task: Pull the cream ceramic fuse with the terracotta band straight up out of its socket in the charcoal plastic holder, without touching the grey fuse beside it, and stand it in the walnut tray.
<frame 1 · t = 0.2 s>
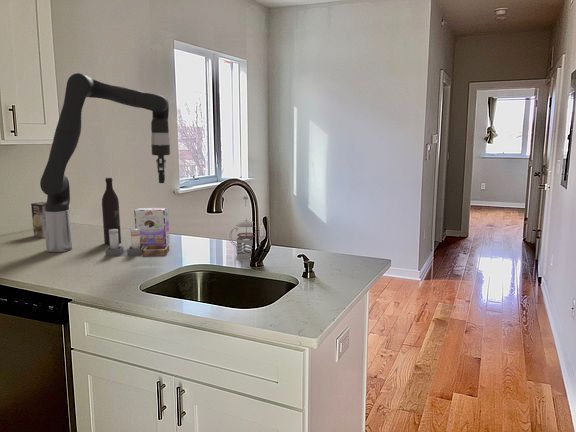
hand: (161, 182, 212), 29 cm above the worktop, tool pointing down, fingers open, 8 cm apart
fuse holder: (125, 255, 203), on the worktop
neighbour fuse: (114, 253, 202), point 1 cm above the worktop, touching fuse holder
french press: (244, 258, 198), on the worktop
coffee box: (44, 236, 242), on the worktop
wine bottle: (113, 245, 222), on the worktop
marked fuse: (136, 253, 203), point 1 cm above the worktop, touching fuse holder
candy box: (153, 245, 222), on the worktop
walnut tray: (156, 254, 204), on the worktop
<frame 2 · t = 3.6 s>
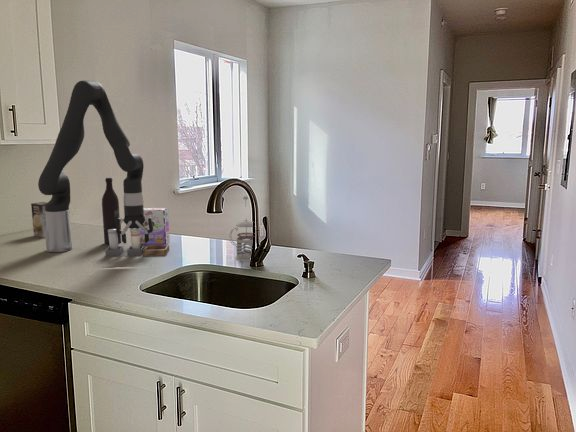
hand: (135, 242, 202), 5 cm above the worktop, tool pointing down, fingers open, 8 cm apart
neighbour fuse: (114, 253, 202), point 1 cm above the worktop, touching fuse holder, gripper
everything else where it was.
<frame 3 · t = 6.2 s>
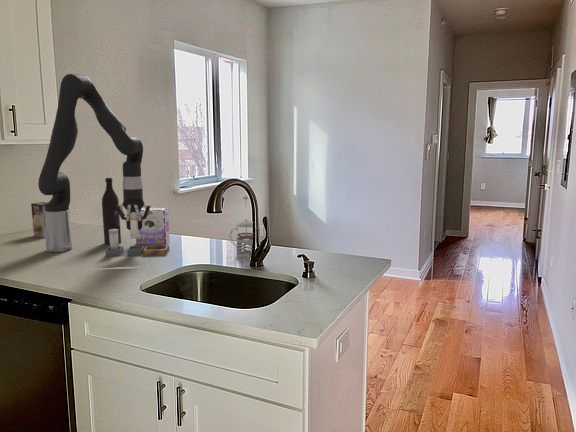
hand: (134, 229, 201), 11 cm above the worktop, tool pointing down, fingers closed on marked fuse, 3 cm apart
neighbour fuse: (114, 253, 202), point 1 cm above the worktop, touching fuse holder
marked fuse: (135, 237, 202), point 7 cm above the worktop, touching gripper
everything else where it was.
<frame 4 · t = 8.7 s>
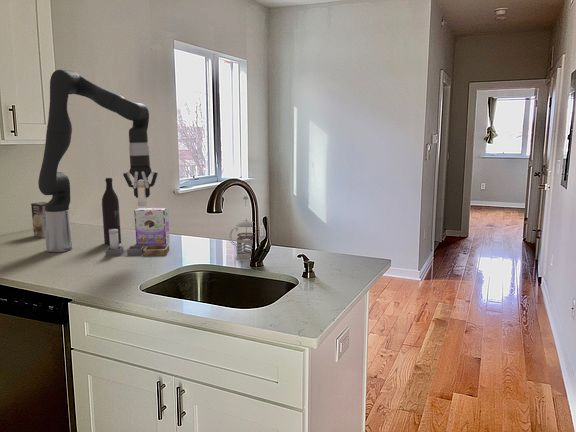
hand: (142, 197, 199), 24 cm above the worktop, tool pointing down, fingers closed on marked fuse, 3 cm apart
marked fuse: (142, 205, 200), point 21 cm above the worktop, touching gripper
everything else where it was.
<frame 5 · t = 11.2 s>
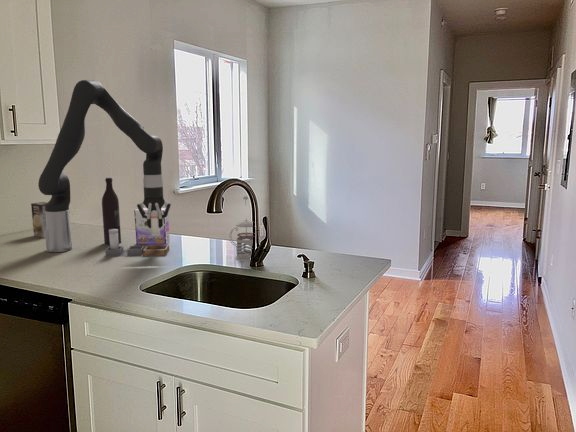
hand: (155, 227, 202), 11 cm above the worktop, tool pointing down, fingers closed on marked fuse, 3 cm apart
marked fuse: (155, 235, 203), point 8 cm above the worktop, touching gripper
everything else where it was.
when the fingers open (5 cm above the worktop, at t = 13.1 s): marked fuse drops 1 cm, resting on walnut tray.
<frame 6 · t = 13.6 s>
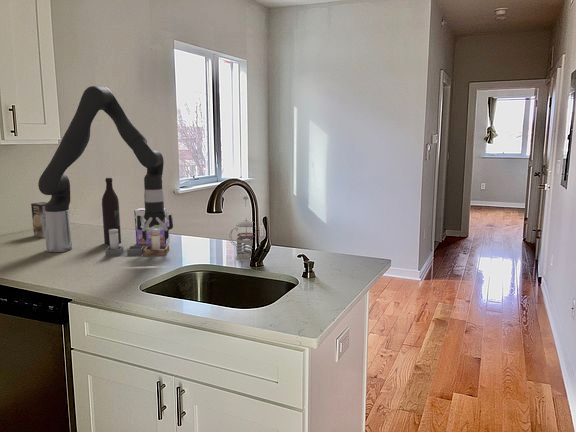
hand: (155, 239, 203), 6 cm above the worktop, tool pointing down, fingers open, 8 cm apart
marked fuse: (156, 253, 204), point 1 cm above the worktop, touching walnut tray
everything else where it was.
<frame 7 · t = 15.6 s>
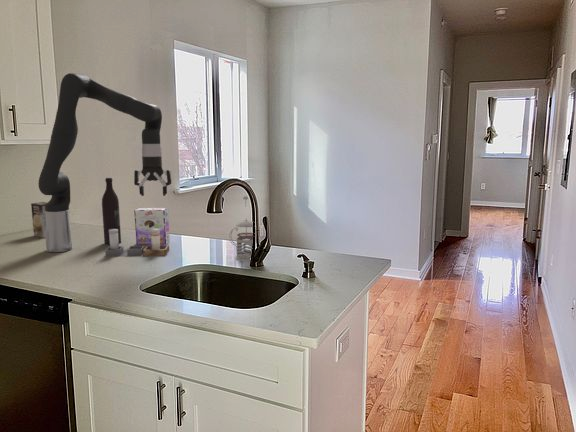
hand: (153, 195, 200), 24 cm above the worktop, tool pointing down, fingers open, 8 cm apart
nothing on the worktop moved.
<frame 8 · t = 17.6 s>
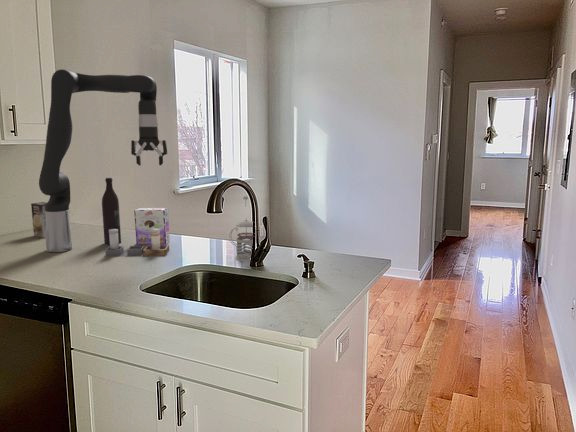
hand: (150, 165, 207), 36 cm above the worktop, tool pointing down, fingers open, 8 cm apart
nothing on the worktop moved.
at the end: marked fuse 0.1 cm off-centre on the walnut tray, point 0.6 cm above the walnut tray's base; marked fuse tilted 0°; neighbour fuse moved 0.0 cm from its start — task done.
